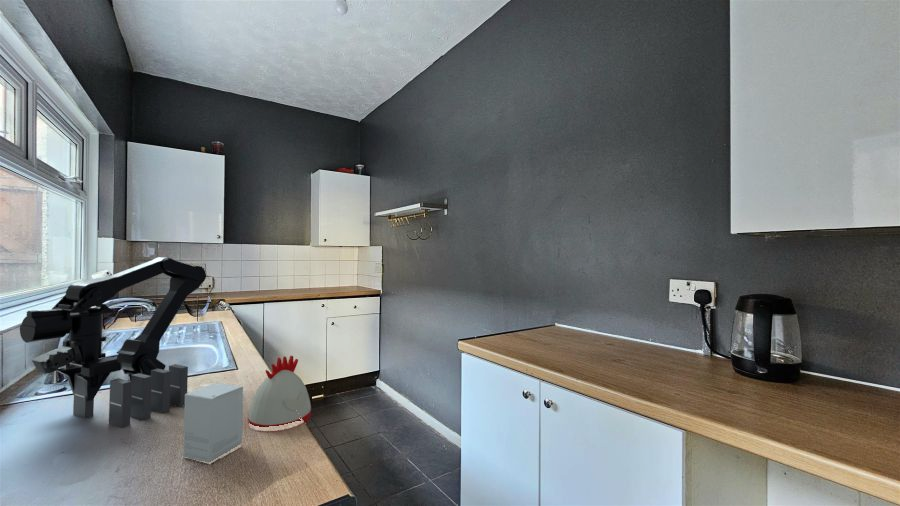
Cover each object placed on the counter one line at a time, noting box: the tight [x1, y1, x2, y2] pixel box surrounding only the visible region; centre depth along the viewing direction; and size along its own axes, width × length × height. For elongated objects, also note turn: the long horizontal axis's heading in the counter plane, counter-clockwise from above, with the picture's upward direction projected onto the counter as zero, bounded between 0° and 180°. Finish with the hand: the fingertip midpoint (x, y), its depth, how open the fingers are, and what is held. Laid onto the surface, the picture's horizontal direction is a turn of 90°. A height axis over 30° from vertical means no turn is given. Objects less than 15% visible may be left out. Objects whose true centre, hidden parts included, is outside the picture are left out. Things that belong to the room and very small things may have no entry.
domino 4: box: [151, 369, 171, 414], centre depth 92 cm, size 2×5×10 cm, turn 69°
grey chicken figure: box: [247, 354, 312, 427], centre depth 90 cm, size 14×14×15 cm
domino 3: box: [130, 373, 152, 421], centre depth 88 cm, size 2×5×10 cm, turn 69°
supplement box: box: [182, 382, 244, 462], centre depth 74 cm, size 7×7×13 cm
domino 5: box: [168, 363, 189, 408], centre depth 96 cm, size 2×5×10 cm, turn 69°
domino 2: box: [108, 377, 132, 429], centre depth 84 cm, size 2×5×10 cm, turn 69°
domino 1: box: [72, 372, 95, 419], centre depth 89 cm, size 2×5×10 cm, turn 68°
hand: (83, 398), depth 89 cm, fingers closed on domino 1, 5 cm apart
